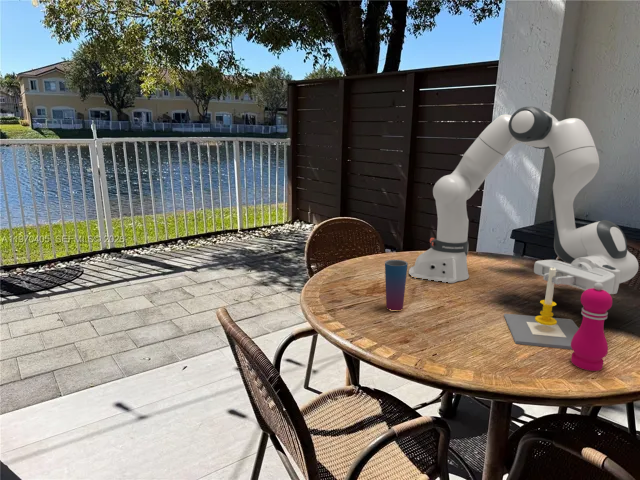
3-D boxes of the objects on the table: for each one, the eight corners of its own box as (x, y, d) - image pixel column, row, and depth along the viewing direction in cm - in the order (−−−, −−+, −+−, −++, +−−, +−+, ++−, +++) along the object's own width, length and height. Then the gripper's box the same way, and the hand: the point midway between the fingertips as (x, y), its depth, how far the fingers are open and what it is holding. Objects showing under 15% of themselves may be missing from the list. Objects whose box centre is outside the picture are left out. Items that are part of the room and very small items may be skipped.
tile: (515, 343, 108) (516, 340, 108) (503, 316, 125) (504, 313, 125) (594, 351, 104) (595, 348, 104) (571, 321, 121) (571, 318, 121)
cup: (405, 314, 127) (407, 266, 124) (382, 312, 128) (384, 265, 125) (405, 305, 134) (407, 260, 130) (384, 304, 135) (385, 259, 131)
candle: (552, 327, 111) (560, 271, 107) (531, 321, 114) (538, 266, 110) (559, 321, 114) (567, 266, 110) (539, 315, 118) (546, 262, 114)
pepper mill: (561, 357, 101) (572, 278, 97) (590, 355, 102) (602, 277, 97) (582, 373, 94) (595, 288, 90) (612, 371, 95) (627, 287, 90)
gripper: (556, 252, 124) (519, 257, 119) (626, 272, 106) (587, 279, 101) (553, 273, 126) (517, 279, 121) (623, 295, 107) (584, 303, 102)
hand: (550, 279), depth 111 cm, fingers closed on candle
